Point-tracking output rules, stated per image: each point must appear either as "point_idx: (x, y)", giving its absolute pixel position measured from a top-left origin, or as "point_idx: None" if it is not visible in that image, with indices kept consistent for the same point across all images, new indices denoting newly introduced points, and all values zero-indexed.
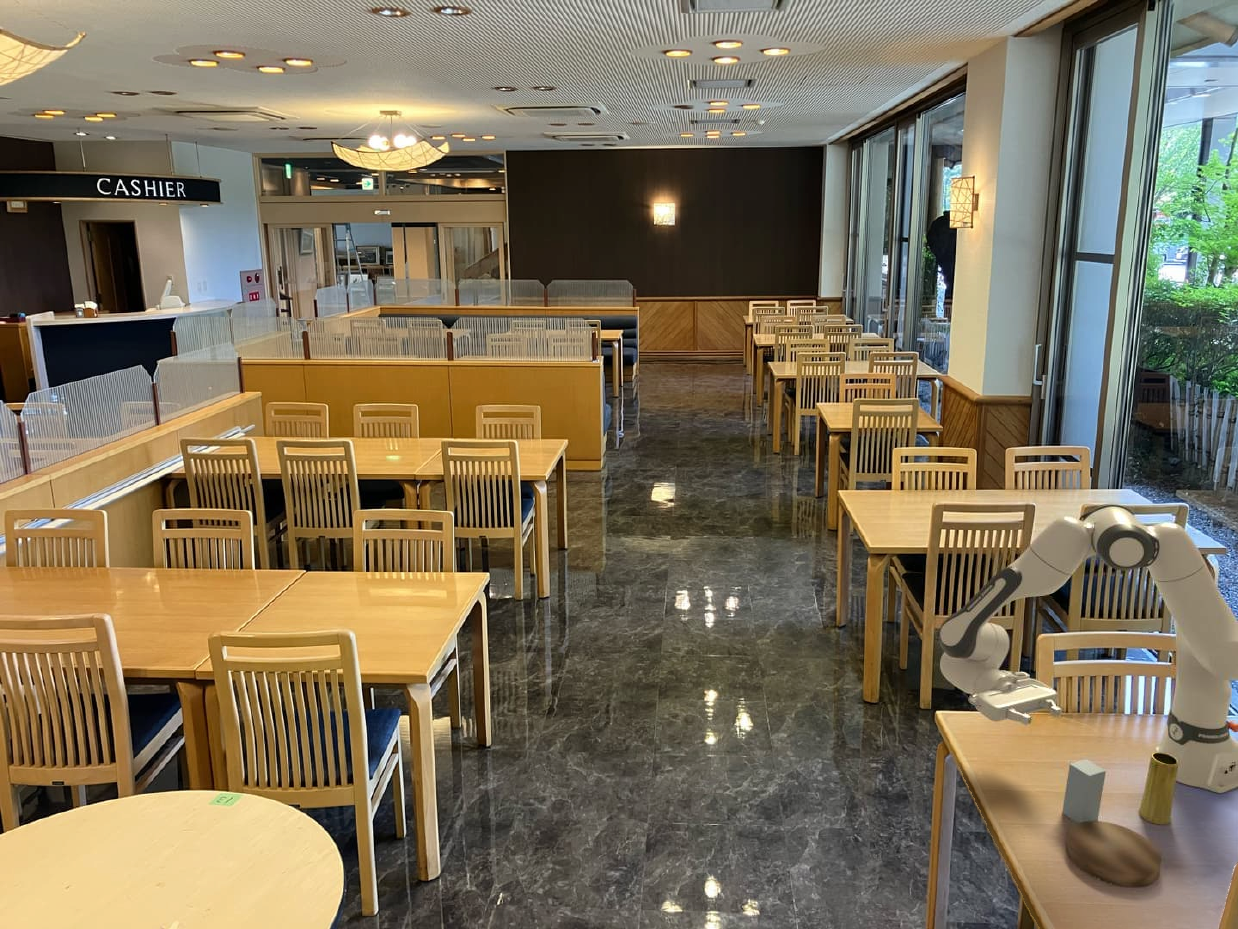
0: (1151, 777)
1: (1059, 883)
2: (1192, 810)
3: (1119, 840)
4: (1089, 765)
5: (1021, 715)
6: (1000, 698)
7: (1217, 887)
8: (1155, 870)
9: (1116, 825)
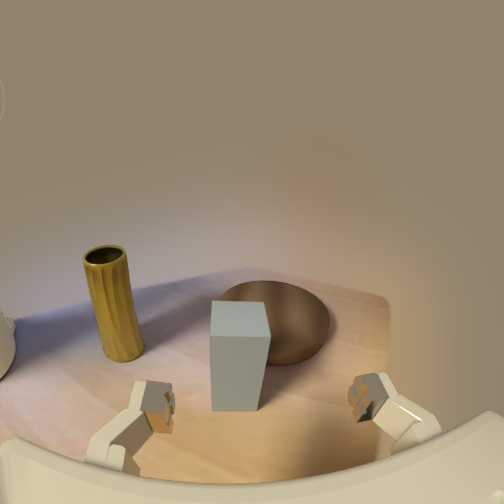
0: (126, 291)
1: (360, 319)
2: (70, 330)
3: None
4: (228, 319)
5: (396, 393)
6: (466, 500)
7: (201, 276)
8: (260, 281)
9: None
